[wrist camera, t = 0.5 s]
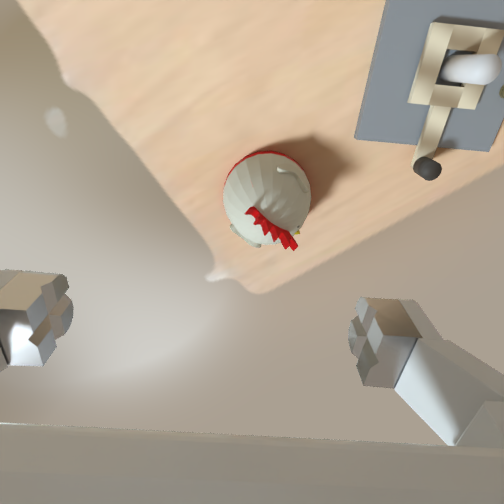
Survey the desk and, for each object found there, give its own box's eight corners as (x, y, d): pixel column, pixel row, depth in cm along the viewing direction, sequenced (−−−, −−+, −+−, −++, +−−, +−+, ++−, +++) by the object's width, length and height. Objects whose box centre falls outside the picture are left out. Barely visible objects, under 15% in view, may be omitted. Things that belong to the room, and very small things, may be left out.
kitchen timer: (272, 246, 59) (278, 298, 46) (207, 202, 55) (194, 246, 42) (326, 185, 53) (351, 226, 40) (259, 131, 49) (262, 157, 36)
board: (394, -37, 40) (432, -62, 31) (553, -17, 41) (631, -37, 32) (353, 137, 50) (374, 152, 41) (482, 149, 51) (528, 166, 42)
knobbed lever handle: (430, 22, 41) (447, 19, 37) (500, 30, 41) (523, 28, 38) (387, 169, 50) (397, 177, 47) (445, 174, 50) (459, 183, 47)
